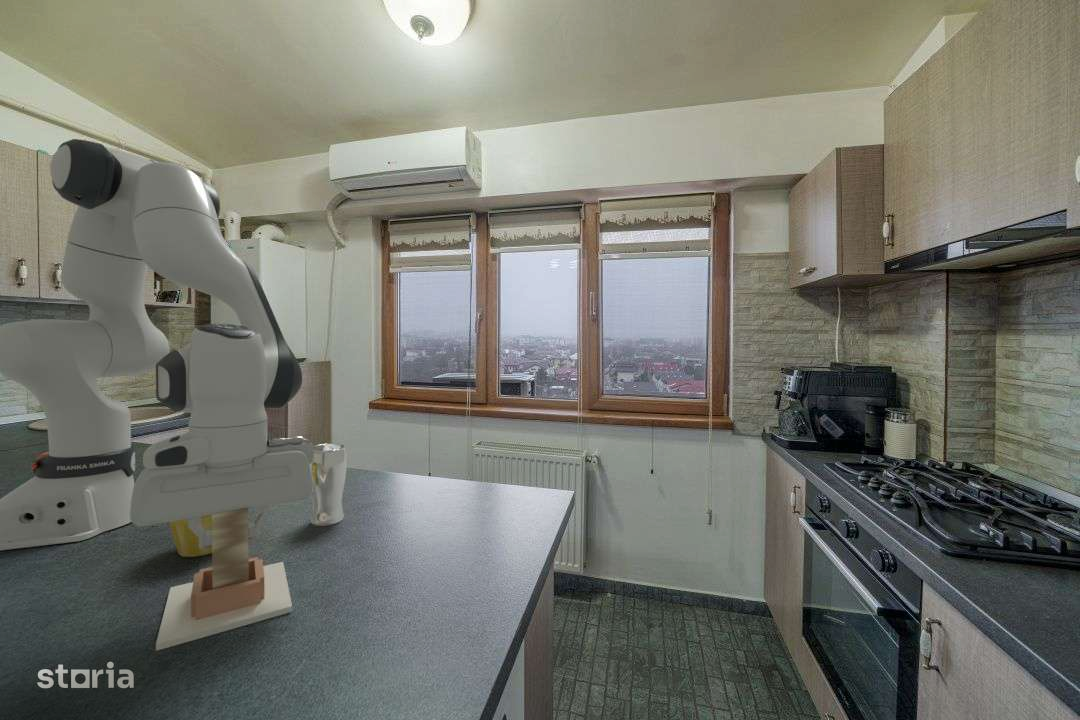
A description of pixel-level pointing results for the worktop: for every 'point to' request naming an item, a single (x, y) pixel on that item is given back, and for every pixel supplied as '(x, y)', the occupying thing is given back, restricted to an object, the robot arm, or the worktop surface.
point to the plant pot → (189, 537)
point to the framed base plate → (223, 604)
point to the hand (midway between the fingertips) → (230, 541)
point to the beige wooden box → (230, 547)
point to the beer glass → (328, 483)
